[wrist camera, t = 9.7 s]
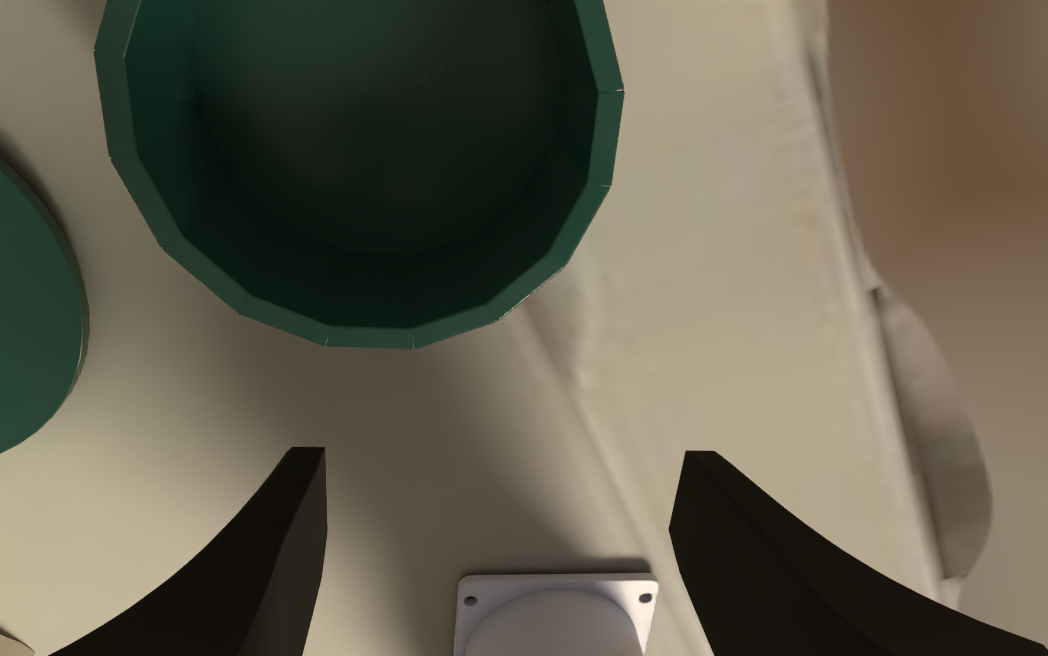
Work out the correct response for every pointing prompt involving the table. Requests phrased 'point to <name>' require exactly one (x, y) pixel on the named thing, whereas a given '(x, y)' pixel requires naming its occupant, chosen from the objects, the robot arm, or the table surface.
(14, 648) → the cat figurine
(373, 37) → the pot
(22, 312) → the lid
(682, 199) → the table surface
